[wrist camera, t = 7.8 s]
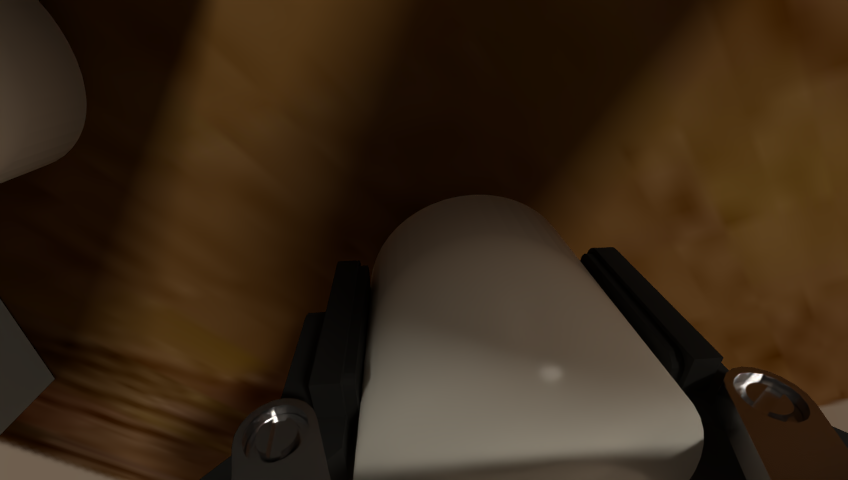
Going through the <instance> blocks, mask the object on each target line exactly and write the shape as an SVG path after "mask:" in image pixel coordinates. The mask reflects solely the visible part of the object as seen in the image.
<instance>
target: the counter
mask: <svg viewBox="0 0 848 480" xmlns="http://www.w3.org/2000/svg"><path fill="white" fill-rule="evenodd" d="M53 380H54V377H53V376H52V374H51V373H50V371H49V370H48V368H47V367H46V365H45V364H44V362H43V361H42V359H41V358H40V357H39V355H38V354H37V352H36V351H35V349H34V348H33V346H32V345H31V343H30V342H29V340H28V339H27V338H26V336H25V335H24V333H23V332H22V330H21V329H20V327H19V326H18V324H17V323H16V321H15V320H14V319H13V317H12V316H11V314H10V313H9V311H8V310H7V308H6V307H5V305H4V304H3V302H2V301H1V299H0V435H1V433H2V432H3V431H4V430H5V429H6V428H7V427H8V426H9V425H10V424H11V423H12V422H13V421H14V420H15V419H16V418H17V417H18V416H19V415H20V414H21V413H22V412H23V411H24V410H25V409H26V408H27V407H28V406H29V405H30V404H31V403H32V402H33V401H34V400H35V399H36V398H37V397H38V396H39V395H40V394H41V393H42V392H43V391H44V390H45V389H46V388H47V386H48V385H49V384H50V383H51V382H52V381H53Z"/></svg>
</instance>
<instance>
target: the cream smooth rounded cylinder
mask: <svg viewBox="0 0 848 480" xmlns="http://www.w3.org/2000/svg"><path fill="white" fill-rule="evenodd" d="M703 445H704V430H703V426H702V422H701V418H700V416H699V414H698V412H697V410H696V408H695V406H694V404H693V403H692V402H691V401H690V399H689V398H688V397H687V395H686V394H685V393H684V392H683V390H682V389H681V388H680V387H679V385H678V384H677V383H676V382H675V380H674V379H673V378H672V377H671V375H670V374H669V373H668V371H667V370H666V369H665V368H664V366H663V365H662V364H661V363H660V361H659V360H658V359H657V358H656V356H655V355H654V354H653V353H652V351H651V350H650V349H649V347H648V346H647V345H646V344H645V342H644V341H643V340H642V339H641V337H640V336H639V335H638V334H637V332H636V331H635V330H634V329H633V327H632V326H631V325H630V323H629V322H628V321H627V320H626V318H625V317H624V316H623V315H622V313H621V312H620V311H619V310H618V308H617V307H616V306H615V305H614V303H613V302H612V301H611V299H610V298H609V297H608V296H607V294H606V293H605V292H604V291H603V289H602V288H601V287H600V286H599V284H598V283H597V282H596V281H595V279H594V278H593V277H592V275H591V274H590V273H589V272H588V270H587V269H586V268H585V267H584V265H583V264H582V263H581V262H580V260H579V259H578V258H577V257H576V255H575V254H574V253H573V251H572V250H571V249H570V248H569V246H568V245H567V244H566V243H565V241H564V240H563V239H562V238H561V236H560V235H559V234H558V233H557V231H556V230H555V229H554V228H553V226H552V225H551V224H550V223H549V222H548V221H547V220H546V219H545V218H544V217H543V216H542V215H541V214H539V213H538V212H537V211H535V210H533V209H532V208H530V207H529V206H527V205H524V204H522V203H520V202H518V201H515V200H512V199H508V198H505V197H500V196H493V195H466V196H458V197H454V198H449V199H445V200H442V201H440V202H437V203H434V204H431V205H429V206H427V207H425V208H423V209H421V210H419V211H418V212H416V213H415V214H413V215H412V216H410V217H409V218H407V219H406V220H405V221H404V222H403V223H401V224H400V225H399V226H398V227H397V228H396V229H395V230H394V231H393V232H392V234H391V235H390V236H389V237H388V238H387V240H386V241H385V243H384V244H383V246H382V247H381V249H380V251H379V254H378V256H377V258H376V261H375V264H374V267H373V271H372V279H371V292H370V303H369V315H368V326H367V337H366V348H365V359H364V370H363V381H362V392H361V403H360V414H359V422H358V431H357V441H356V452H355V463H354V474H353V480H690V478H691V477H692V475H693V473H694V472H695V470H696V468H697V465H698V463H699V461H700V458H701V454H702V450H703Z"/></svg>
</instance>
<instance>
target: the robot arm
mask: <svg viewBox="0 0 848 480" xmlns="http://www.w3.org/2000/svg"><path fill="white" fill-rule="evenodd" d="M580 262H581V263H582V264H583V265H584V267H585V268H586V269H587V270H588V272H589V273H590V274H591V275H592V277H593V278H594V279H595V281H596V282H597V283H598V284H599V286H600V287H601V288H602V289H603V291H604V292H605V293H606V294H607V296H608V297H609V298H610V299H611V301H612V302H613V303H614V305H615V306H616V307H617V308H618V310H619V311H620V312H621V313H622V315H623V316H624V317H625V318H626V320H627V321H628V322H629V323H630V325H631V326H632V327H633V329H634V330H635V331H636V332H637V334H638V335H639V336H640V337H641V339H642V340H643V341H644V342H645V344H646V345H647V346H648V347H649V349H650V350H651V351H652V353H653V354H654V355H655V356H656V358H657V359H658V360H659V361H660V363H661V364H662V365H663V366H664V368H665V369H666V370H667V371H668V373H669V374H670V375H671V377H672V378H673V379H674V380H675V382H676V383H677V384H678V385H679V387H680V388H681V389H682V390H683V392H684V393H685V394H686V395H687V397H688V398H689V399H690V401H691V402H692V403H693V404H694V406H695V408H696V410H697V412H698V414H699V416H700V418H701V422H702V426H703V430H704V445H703V450H702V454H701V458H700V461H699V463H698V465H697V468H696V470H695V472H694V473H693V475H692V477H691V478H690V480H848V433H846V432H844V431H842V430H840V429H837V428H835V427H833V426H831V424H830V423H829V421H828V420H827V419H826V417H825V416H824V414H823V413H822V411H821V410H820V408H819V407H818V406H817V404H816V403H815V402H814V401H813V400H812V399H811V398H810V396H809V395H808V394H807V393H805V392H804V391H803V390H801V389H800V388H799V387H798V386H796V385H795V384H793V383H791V382H790V381H788V380H786V379H784V378H783V377H781V376H778V375H776V374H773V373H771V372H768V371H765V370H761V369H757V368H753V367H737V368H732V369H731V370H728V369H727V368H726V367H725V366H724V365H723V364H722V363H721V362H722V359H723V357H722V356H721V355H720V354H719V353H718V352H717V351H716V350H715V349H714V348H713V346H712V345H711V344H710V343H709V342H708V341H707V340H706V339H705V338H704V337H703V336H702V335H701V334H700V333H699V332H698V331H697V330H696V329H695V328H694V327H693V326H692V325H691V324H690V323H689V322H688V321H687V320H686V319H685V318H684V317H683V316H682V315H681V314H680V313H679V312H678V311H677V310H676V309H675V308H674V307H673V306H672V305H671V304H670V303H669V302H668V301H667V300H666V299H665V298H664V297H663V296H662V295H661V294H660V293H659V292H658V291H657V290H656V289H655V288H654V287H653V286H652V285H651V284H650V283H649V282H648V281H647V280H646V279H645V278H644V277H643V276H642V275H641V274H640V273H639V272H638V271H637V270H636V269H635V268H634V267H633V266H632V265H631V264H630V263H629V262H628V261H627V260H626V259H625V258H624V257H623V256H622V255H621V254H620V253H619V252H618V251H617V250H616V249H615V248H613V247H606V248H591V249H589V251H588V253H587V254H584V255H583V256H582V257H581V261H580ZM370 292H371V286H370V276H369V268H368V265H367V266H361V263H360V261H359V260H358V261H339V262H338V264H337V268H336V272H335V276H334V280H333V284H332V289H331V293H330V297H329V301H328V305H327V309H326V312H320V313H308V314H307V316H306V318H305V321H304V324H303V328H302V331H301V334H300V337H299V341H298V344H297V347H296V351H295V354H294V357H293V360H292V364H291V367H290V370H289V374H288V377H287V380H286V383H285V387H284V390H283V393H282V397H281V399H279V400H274V401H271V402H269V403H267V404H264V405H262V406H260V407H259V408H257V409H256V410H255V411H253V412H252V413H250V414H249V415H248V416H247V417H246V419H245V420H244V421H243V422H242V423H241V424H240V426H239V428H238V429H237V431H236V433H235V435H234V439H233V444H232V456H230V457H229V458H228V459H226V460H225V461H224V462H222V463H221V464H220V465H218V466H217V467H216V468H214V469H213V470H212V471H210V472H209V473H208V474H206V475H205V476H204V477H202V478H201V479H200V480H353V474H354V463H355V452H356V441H357V431H358V422H359V414H360V403H361V392H362V381H363V370H364V359H365V348H366V337H367V326H368V315H369V303H370Z"/></svg>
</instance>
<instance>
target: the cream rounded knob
mask: <svg viewBox="0 0 848 480" xmlns="http://www.w3.org/2000/svg"><path fill="white" fill-rule="evenodd" d="M86 107H87V102H86V91H85V86H84V81H83V77H82V73H81V71H80V68H79V65H78V62H77V59H76V57H75V55H74V53H73V51H72V49H71V47H70V45H69V43H68V41H67V39H66V38H65V36H64V34H63V33H62V31H61V29H60V28H59V26H58V25H57V24H56V22H55V21H54V19H53V18H52V17H51V15H50V14H49V13H48V11H47V10H46V9H45V8H44V7H43V5H42V4H41V3H40V2H39V1H38V0H0V183H3V182H5V181H8V180H10V179H13V178H15V177H18V176H21V175H23V174H26V173H28V172H31V171H33V170H36V169H38V168H41V167H43V166H46V165H48V164H51V163H53V162H55V161H57V160H58V159H60V158H62V157H63V156H65V155H66V154H67V153H68V152H69V151H70V150H71V149H72V148H73V146H74V145H75V143H76V142H77V141H78V139H79V137H80V135H81V132H82V130H83V127H84V123H85V118H86Z"/></svg>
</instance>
